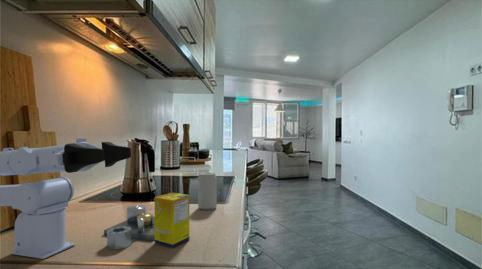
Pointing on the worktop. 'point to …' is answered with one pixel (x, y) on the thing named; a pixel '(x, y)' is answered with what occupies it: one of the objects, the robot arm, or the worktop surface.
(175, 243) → the supplement box
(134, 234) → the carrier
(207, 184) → the beverage can
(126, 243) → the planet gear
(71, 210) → the worktop surface
